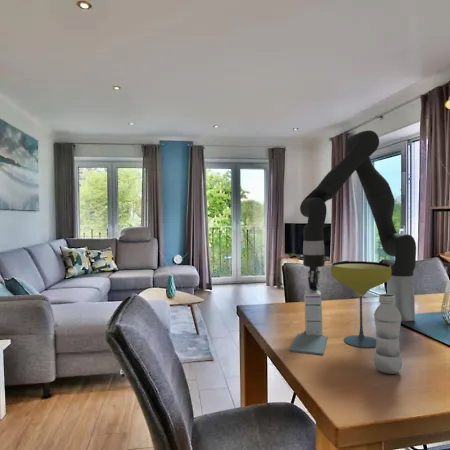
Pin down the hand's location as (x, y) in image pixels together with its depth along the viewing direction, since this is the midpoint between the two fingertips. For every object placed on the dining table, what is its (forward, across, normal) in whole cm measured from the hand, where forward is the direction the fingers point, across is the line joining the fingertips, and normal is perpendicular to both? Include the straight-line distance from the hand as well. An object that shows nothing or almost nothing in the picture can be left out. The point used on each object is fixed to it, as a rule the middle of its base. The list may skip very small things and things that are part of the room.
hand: (314, 300), depth 127 cm
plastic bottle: (+10, -30, -22) cm, 39 cm away
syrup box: (+10, -5, 0) cm, 12 cm away
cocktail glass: (+10, -10, -16) cm, 21 cm away
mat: (+10, -17, 0) cm, 20 cm away
